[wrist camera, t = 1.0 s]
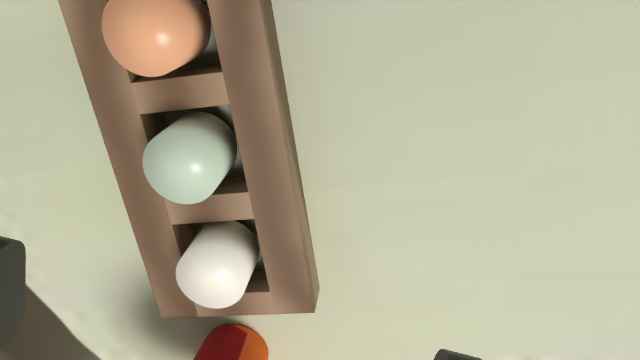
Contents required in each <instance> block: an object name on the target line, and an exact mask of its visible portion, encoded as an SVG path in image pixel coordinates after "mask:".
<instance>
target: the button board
mask: <svg viewBox="0 0 640 360" xmlns="http://www.w3.org/2000/svg"><path fill="white" fill-rule="evenodd" d="M58 2H59V5H60V8H61V11H62V14H63V17H64V20H65V23H66V26H67V29H68V32H69V35H70V38H71V41H72V45H73V48H74V51H75V54H76V57H77V60H78V63H79V66H80V69H81V72H82V75H83V78H84V81H85V84H86V87H87V91H88V94H89V97H90V100H91V103H92V106H93V109H94V112H95V115H96V118H97V121H98V124H99V127H100V130H101V133H102V137H103V140H104V143H105V146H106V149H107V152H108V155H109V158H110V161H111V164H112V167H113V170H114V173H115V176H116V179H117V183H118V186H119V189H120V192H121V195H122V198H123V201H124V204H125V207H126V210H127V213H128V216H129V219H130V222H131V225H132V229H133V232H134V235H135V238H136V241H137V244H138V247H139V250H140V253H141V256H142V259H143V262H144V265H145V268H146V271H147V275H148V278H149V281H150V284H151V287H152V290H153V293H154V296H155V299H156V302H157V305H158V308H159V311H160V314H161V317H162V318H182V317H209V316H236V315H263V314H290V313H315V308H316V303H317V298H318V293H319V282H318V277H317V271H316V265H315V259H314V253H313V247H312V241H311V235H310V229H309V223H308V217H307V211H306V205H305V199H304V194H303V188H302V182H301V176H300V170H299V164H298V158H297V152H296V146H295V140H294V134H293V128H292V122H291V117H290V111H289V105H288V99H287V93H286V87H285V81H284V75H283V69H282V63H281V57H280V51H279V45H278V40H277V34H276V28H275V22H274V16H273V10H272V4H271V0H207V3H208V7H209V12H210V17H211V21H212V26H213V30H214V35H215V40H216V44H217V49H218V54H219V58H220V63H221V65H214V66H206V67H198V68H190V69H182V70H174V71H171V72H169V73H167V74H165V75H162V76H157V77H145V76H140V75H137V74H135V73H133V72H131V71H129V70H127V69H126V68H124V67H123V66H122V65H121V64H119V63H118V62H117V61H116V59H115V58H114V57H113V56H112V54H111V53H110V51H109V49H108V47H107V45H106V43H105V40H104V37H103V33H102V15H103V11H104V8H105V6H106V4H107V2H108V0H58ZM220 105H230V109H231V114H232V118H233V123H234V128H235V132H236V137H237V142H238V146H239V151H240V155H241V160H242V165H243V169H244V174H245V176H236V177H224V179H223V180H222V181H221V183H220V184H219V185H218V187H217V188H216V189H215V191H214V192H213V193H212V194H211V196H209V197H208V198H207V199H205V200H204V201H201V202H199V203H195V204H179V203H175V202H172V201H170V200H168V199H166V198H164V197H163V196H161V195H160V194H159V193H157V192H156V191H155V190H154V189H153V187H152V186H151V185H150V183H149V182H148V180H147V178H146V176H145V173H144V170H143V163H142V161H143V153H144V150H145V148H146V146H147V144H148V143H149V142H150V141H151V140H152V139H153V138H154V137H155V136H157V135H158V134H159V133H160V132H162V131H163V130H164V129H166V125H165V122H164V118H163V114H162V112H165V111H174V110H183V109H193V108H202V107H211V106H220ZM245 219H254V220H255V225H256V230H257V234H258V239H259V243H260V248H261V253H262V257H263V262H264V267H265V269H258V270H253V273H252V275H251V277H250V280H249V282H248V284H247V287H246V289H245V292H244V294H243V296H242V297H241V298H240V300H239V301H238V302H236V303H235V304H233V305H231V306H229V307H226V308H219V309H214V308H207V307H204V306H201V305H199V304H197V303H195V302H193V301H192V300H190V299H189V298H188V297H187V296H186V295H185V294H184V293H183V292H182V290H181V289H180V287H179V285H178V283H177V280H176V267H177V264H178V262H179V260H180V259H181V257H182V256H183V254H184V253H185V252H186V250H187V249H188V247H189V246H190V244H191V243H192V241H193V240H194V238H195V237H196V236H195V232H194V228H193V225H192V223H202V222H216V221H231V220H245Z"/></svg>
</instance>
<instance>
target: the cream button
mask: <svg viewBox="0 0 640 360" xmlns="http://www.w3.org/2000/svg"><path fill="white" fill-rule="evenodd" d="M259 253H260V249H259V244H258V241H257V239H256V237H255V236H254V234H253V233H252V232H251V231H250V230H249V229H248V228H247V227H246V226H244V225H243V224H241V223H239V222H236V221H233V220H231V221H216V222H209V223H207V224H206V225H204V226H203V227H202V228H201V230H200V231H199V233H198V234H197V235H196V237H195V238H194V240H193V241H192V243H191V244H190V246H189V247H188V249H187V250H186V252H185V253H184V254H183V256H182V257H181V259H180V260H179V262H178V264H177V267H176V280H177V283H178V285H179V287H180V289H181V290H182V292H183V293H184V294H185V295H186V296H187V297H188V298H189V299H190V300H192V301H193V302H195V303H197V304H199V305H201V306H204V307H207V308H214V309H219V308H226V307H229V306H231V305H233V304H235V303H236V302H238V301H239V300H240V298H241V297H242V296H243V294H244V292H245V289H246V287H247V284H248V282H249V280H250V277H251V275H252V273H253V270H254V268H255V266H256V263H257V261H258V258H259Z"/></svg>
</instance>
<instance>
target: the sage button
mask: <svg viewBox="0 0 640 360" xmlns="http://www.w3.org/2000/svg"><path fill="white" fill-rule="evenodd" d="M236 157H237V142H236V139H235V136H234V134H233V132H232V131H231V129H230V128H229V126H228V125H227V124H226V123H225V122H223V121H222V120H221V119H219V118H218V117H216V116H214V115H212V114H209V113H205V112H192V113H188V114H185V115H183V116H182V117H180V118H179V119H177V120H176V121H175V122H174V123H172V124H171V125H170V126H168V127H167V128H166V129H164V130H163V131H162V132H160V133H159V134H158V135H157V136H155V137H154V138H153V139H152V140H151V141H150V142H149V143H148V144H147V146H146V148H145V150H144V153H143V161H142V163H143V170H144V173H145V176H146V178H147V180H148V182H149V183H150V185H151V186H152V187H153V189H154V190H155V191H156V192H157V193H159V194H160V195H161V196H163V197H164V198H166V199H168V200H170V201H172V202H175V203H179V204H195V203H199V202H201V201H204V200H205V199H207V198H208V197H209V196H211V194H212V193H213V192H214V191H215V189H216V188H217V187H218V185H219V184H220V183H221V181H222V180H223V179H224V177H225V176H226V175H227V173H228V172H229V171H230V169H231V168H232V166H233V165H234V163H235V161H236Z"/></svg>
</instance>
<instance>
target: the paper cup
mask: <svg viewBox="0 0 640 360" xmlns="http://www.w3.org/2000/svg"><path fill="white" fill-rule="evenodd" d="M194 360H268V348H267V345H266V343H265V341H264V340H263V338H262V337H261V336H260V335H259V334H258V333H256V332H255V331H254V330H252V329H250V328H248V327H245V326H242V325H238V324H226V325H222V326H219V327H217V328H215V329H214V330H213V331H211V333H210V334H209V335H208V336H207V338H206V339H205V341H204V343H203V344H202V346H201V348H200V349H199V351H198V353H197V354H196V356H195V358H194Z"/></svg>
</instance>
